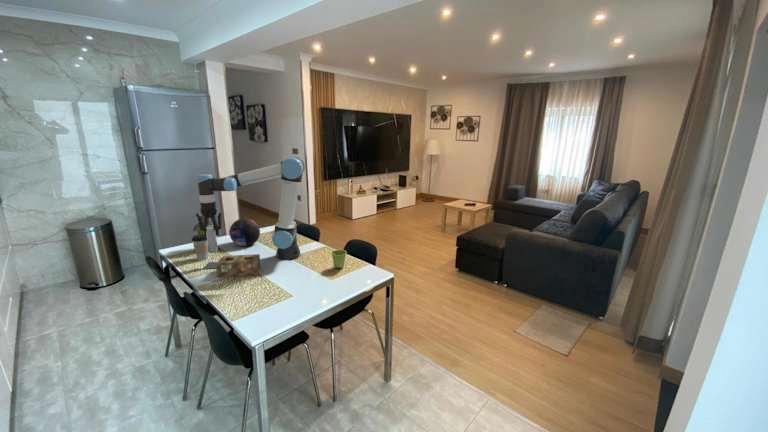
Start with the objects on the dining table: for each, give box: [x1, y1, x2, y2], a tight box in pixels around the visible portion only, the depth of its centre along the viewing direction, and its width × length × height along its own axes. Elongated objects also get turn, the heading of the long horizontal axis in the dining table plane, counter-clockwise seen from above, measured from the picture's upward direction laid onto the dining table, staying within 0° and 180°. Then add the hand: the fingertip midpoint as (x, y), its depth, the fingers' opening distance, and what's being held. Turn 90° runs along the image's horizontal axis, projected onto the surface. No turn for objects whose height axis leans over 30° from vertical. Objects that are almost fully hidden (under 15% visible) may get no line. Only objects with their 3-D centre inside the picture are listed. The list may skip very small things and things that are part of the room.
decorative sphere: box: [228, 217, 261, 247], centre depth 216 cm, size 19×20×20 cm
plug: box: [206, 225, 219, 254], centre depth 178 cm, size 4×4×16 cm
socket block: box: [215, 253, 262, 278], centre depth 172 cm, size 20×12×8 cm, turn 101°
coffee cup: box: [191, 234, 209, 262], centre depth 190 cm, size 9×9×15 cm
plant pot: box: [330, 249, 348, 268], centre depth 184 cm, size 9×9×9 cm
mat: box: [202, 261, 218, 270], centre depth 181 cm, size 10×10×1 cm
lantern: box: [192, 215, 220, 255], centre depth 204 cm, size 14×14×30 cm
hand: (212, 241), depth 178 cm, fingers closed on plug, 3 cm apart
